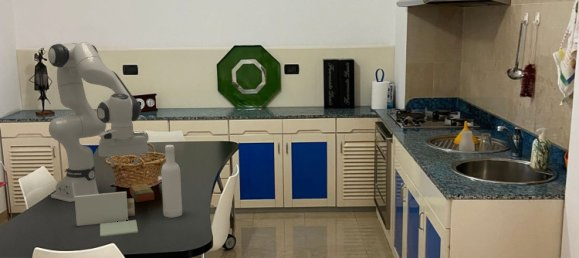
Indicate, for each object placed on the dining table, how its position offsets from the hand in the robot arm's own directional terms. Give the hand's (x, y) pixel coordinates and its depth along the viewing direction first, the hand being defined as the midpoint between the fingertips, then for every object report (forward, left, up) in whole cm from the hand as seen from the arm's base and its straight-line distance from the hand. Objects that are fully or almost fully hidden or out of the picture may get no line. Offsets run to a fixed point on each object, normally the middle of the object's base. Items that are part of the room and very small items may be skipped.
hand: (124, 165), depth 245 cm
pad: (+8, -16, -22) cm, 28 cm away
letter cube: (0, 0, -22) cm, 22 cm away
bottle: (+19, +6, -22) cm, 29 cm away
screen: (-3, -12, -22) cm, 25 cm away
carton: (-10, +24, -22) cm, 34 cm away
